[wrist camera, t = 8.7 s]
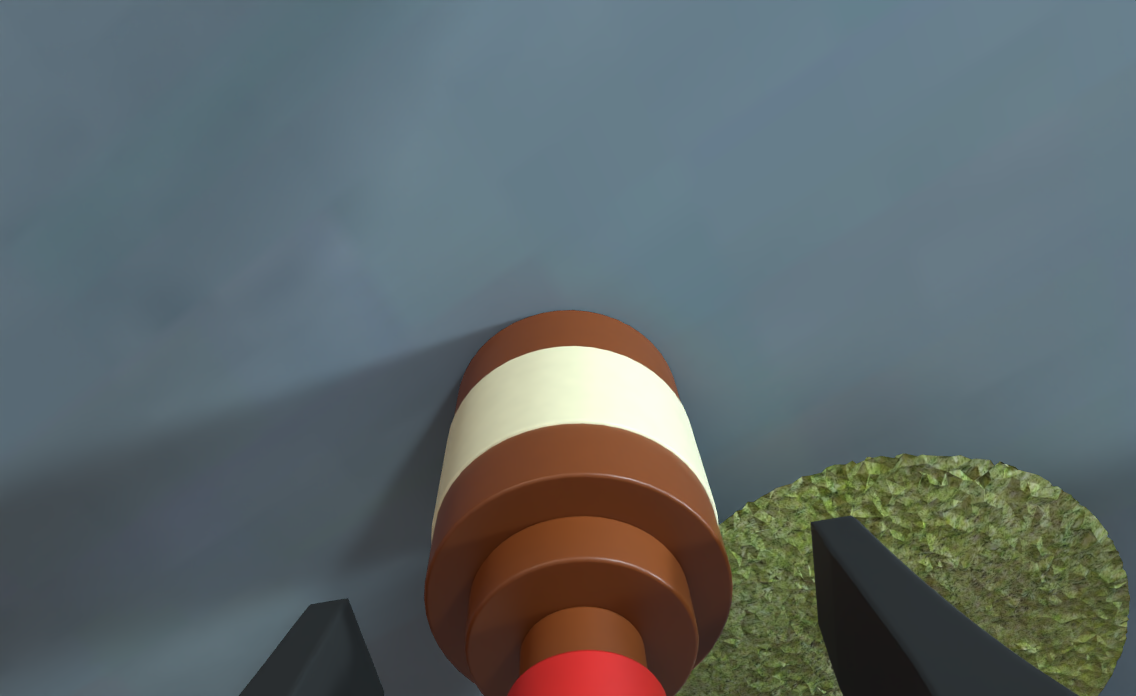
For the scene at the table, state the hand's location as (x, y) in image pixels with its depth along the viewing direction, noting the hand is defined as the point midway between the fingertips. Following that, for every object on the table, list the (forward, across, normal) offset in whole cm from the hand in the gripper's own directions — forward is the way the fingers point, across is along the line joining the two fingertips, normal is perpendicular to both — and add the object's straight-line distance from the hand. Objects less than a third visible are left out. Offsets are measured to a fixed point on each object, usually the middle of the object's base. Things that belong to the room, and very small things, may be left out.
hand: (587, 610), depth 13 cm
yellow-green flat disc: (+6, -6, +7) cm, 11 cm away
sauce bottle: (+6, 0, 0) cm, 6 cm away
